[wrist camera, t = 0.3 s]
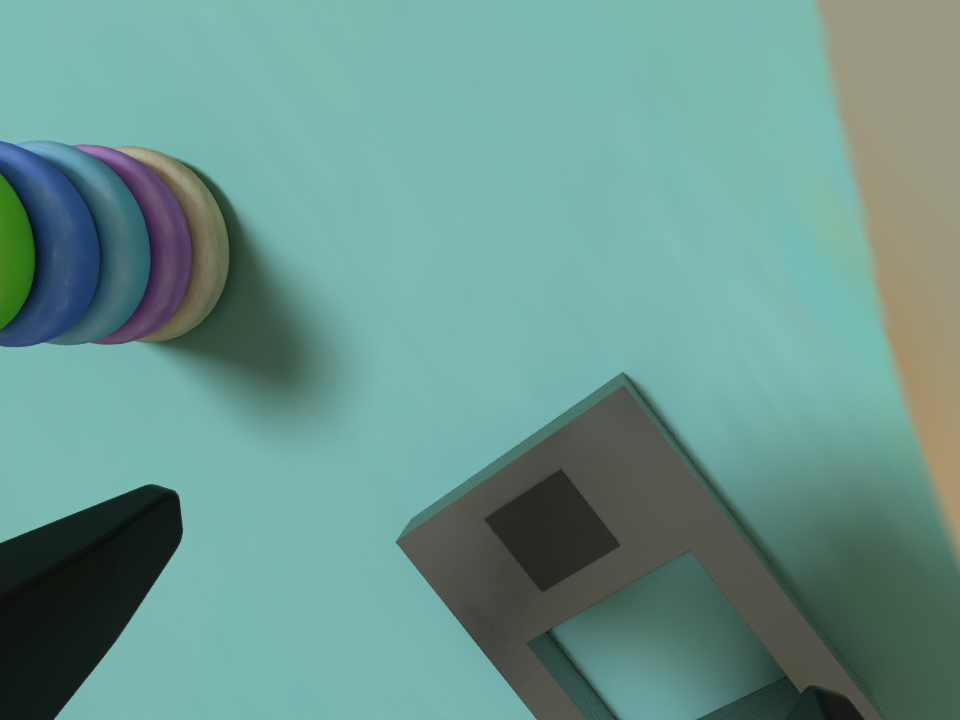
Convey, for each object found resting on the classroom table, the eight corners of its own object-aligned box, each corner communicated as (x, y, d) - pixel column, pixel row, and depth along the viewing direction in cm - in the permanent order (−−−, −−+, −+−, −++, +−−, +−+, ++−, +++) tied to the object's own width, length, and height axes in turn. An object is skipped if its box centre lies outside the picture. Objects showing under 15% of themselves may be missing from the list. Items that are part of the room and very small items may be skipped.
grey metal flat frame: (636, 802, 26) (638, 849, 24) (411, 518, 26) (394, 542, 24) (873, 697, 23) (898, 741, 21) (622, 372, 23) (624, 385, 21)
